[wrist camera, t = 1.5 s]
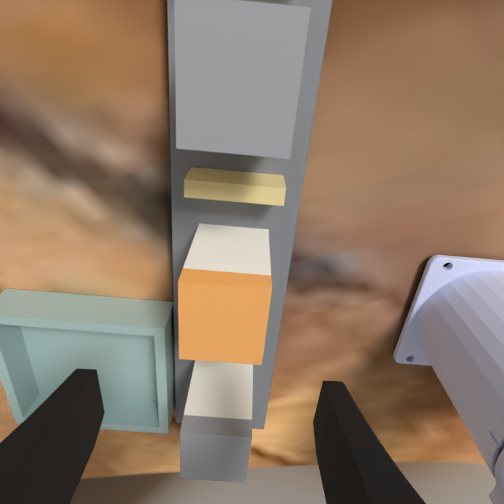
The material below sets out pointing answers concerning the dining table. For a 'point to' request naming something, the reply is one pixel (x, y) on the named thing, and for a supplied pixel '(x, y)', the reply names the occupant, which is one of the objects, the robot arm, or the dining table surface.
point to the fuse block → (245, 199)
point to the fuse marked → (225, 295)
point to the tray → (90, 354)
